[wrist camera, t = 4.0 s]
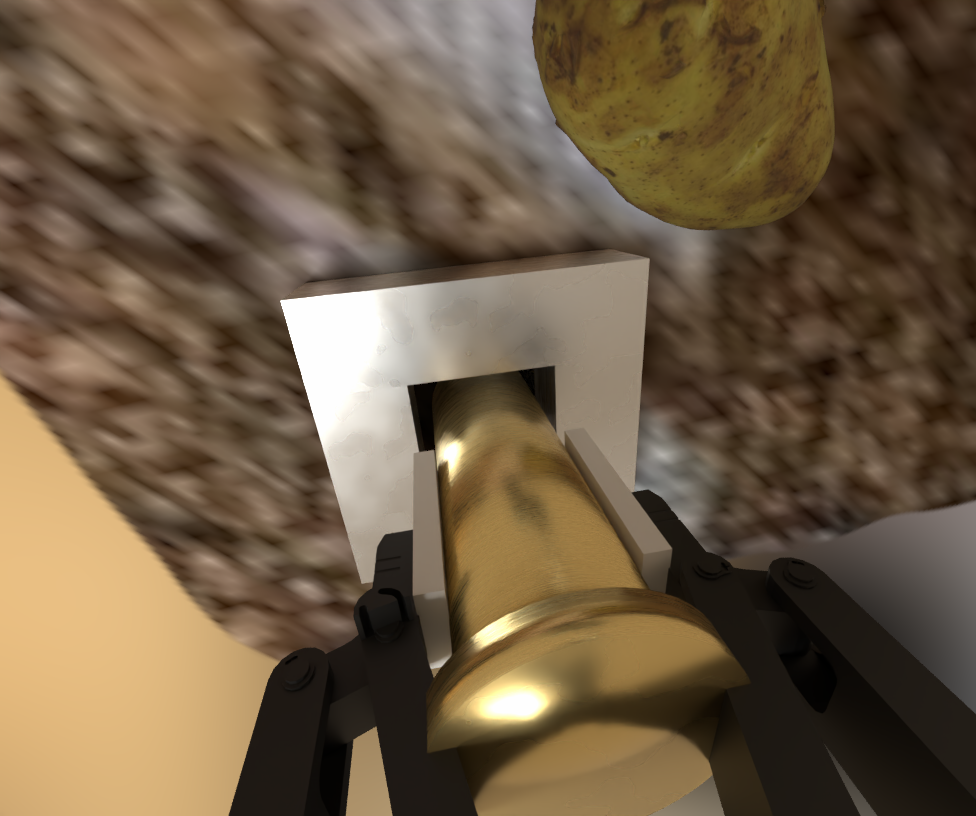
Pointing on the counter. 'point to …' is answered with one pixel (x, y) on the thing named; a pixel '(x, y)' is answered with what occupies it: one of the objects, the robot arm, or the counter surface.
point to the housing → (464, 364)
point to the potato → (693, 102)
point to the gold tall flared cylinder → (558, 629)
